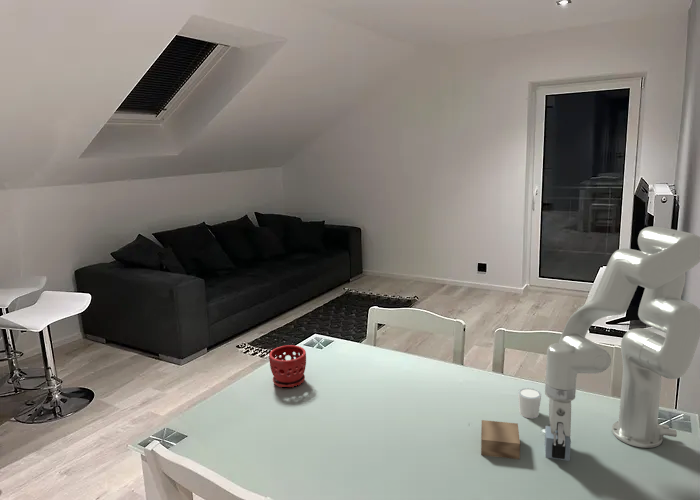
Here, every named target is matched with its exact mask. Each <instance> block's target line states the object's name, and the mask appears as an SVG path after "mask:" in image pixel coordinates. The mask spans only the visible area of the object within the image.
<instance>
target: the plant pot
mask: <svg viewBox="0 0 700 500" xmlns="http://www.w3.org/2000/svg"><path fill="white" fill-rule="evenodd" d="M287 356H290V359H288V360H287V359H286V357H287ZM268 357H269V358H268V359H269V367H270V370H271V374H272V375H273V377H272V382H273V384H274V385H275V386H277V387H279V388H282V387H292V388H295V387H294V386H296V387H298V386H300V385H302V384H303V383H304V381H306V380H305V378H306V375H305V371H306V367H307V366H306V365H307V352H306V349H305V348H303V347H302V346H298V345H293V344H290V345H288V344H287V345H282V346H279V347H278V346H277V347H276V348H273V349H272V350H271V351H270V352H269V355H268ZM301 383H302V384H301ZM297 385H298V386H297Z"/></svg>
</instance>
